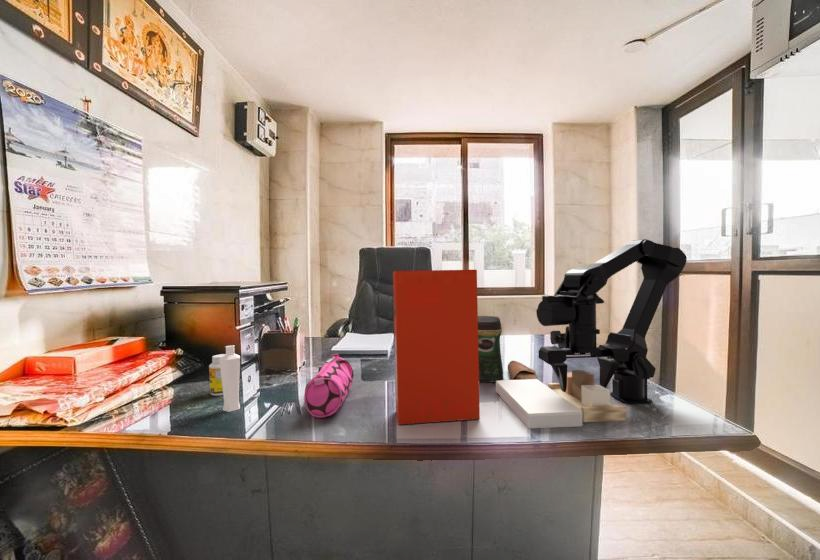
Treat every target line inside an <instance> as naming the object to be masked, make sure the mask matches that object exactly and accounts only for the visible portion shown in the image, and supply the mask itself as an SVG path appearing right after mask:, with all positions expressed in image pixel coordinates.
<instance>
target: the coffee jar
mask: <svg viewBox="0 0 820 560" xmlns="http://www.w3.org/2000/svg"><path fill="white" fill-rule="evenodd" d="M502 329H503V327H502V323H501V318H500V317H499V316H494V315H478V357H479V383H482V382H483V383H496V381H498V380H503V379H504V369H503V361H502V360H503V359H502V353H501V352H502V351H501V337H502V333H503V330H502Z"/></svg>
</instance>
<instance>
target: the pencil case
mask: <svg viewBox="0 0 820 560" xmlns="http://www.w3.org/2000/svg"><path fill="white" fill-rule="evenodd" d="M339 355H340V354H339V353H333V354H332V353H331V354H330V357H331V358H329V359H328V360H326V361H325V363H324V364H322V366H319V367H318V370H317V371H318V372H317V374H316V375H315V376H313V377H312V378H311V379H310V380H309V381H308V382H307V384H306V386H305V388H304V394H303V395H304V396H303V400H304V404H305V407H306V410H307V412H308V413H309V414H310V415H311V416H313V417H315V418H321V419H322V418H328V417H330V416H332V415H333V414H335V413H336V412H337V411H338V410H339V408H340V407H341V406H342V405H343V402H344V401H345V399H346V397H347V395H348V394H349V392H350V389H351V387H352V386H353V385H352V384H353V382H354V375H355V374H354V370H353V366H352V365H351V363H350V362H349V361H347V360H346V359H344V358H343V357H340V356H339Z"/></svg>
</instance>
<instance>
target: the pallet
mask: <svg viewBox="0 0 820 560" xmlns="http://www.w3.org/2000/svg"><path fill="white" fill-rule="evenodd" d="M571 372H572V394H567V393H566V392H563V391H562V390H561V389H560V384H559V382H547V387H549V388H550V389H552V390H553V391H554V392H556V393H557V394H559V395H560V396H561V397H563V398H564V399H566V400H567V401H568V402H570V403H571V404H573V405H574V406H575V407H577V408H578V409H579V410H581V411H582V423H583V422H584V423H589V422H590V423H593V422H594V423H595V422H613V421H614V422H616V421H617V422H618V421H619V422H620V421H627V406H625V405H624V404H614V403H613V402H611V401H610V405H609V406H585V405H584V404H582V396H581V385H595V374H593V373H592V372H590V371H588V370H586V369H571Z"/></svg>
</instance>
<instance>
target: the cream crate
mask: <svg viewBox="0 0 820 560" xmlns="http://www.w3.org/2000/svg"><path fill="white" fill-rule="evenodd" d="M610 393H611V390H610V389H608V388H607V387H606V388H604V387H602V386H601V385H600V384H594V385H581V396H582V404H584V405H585V406H609V405H610V402H611V397H610V396H611V395H610Z"/></svg>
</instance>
